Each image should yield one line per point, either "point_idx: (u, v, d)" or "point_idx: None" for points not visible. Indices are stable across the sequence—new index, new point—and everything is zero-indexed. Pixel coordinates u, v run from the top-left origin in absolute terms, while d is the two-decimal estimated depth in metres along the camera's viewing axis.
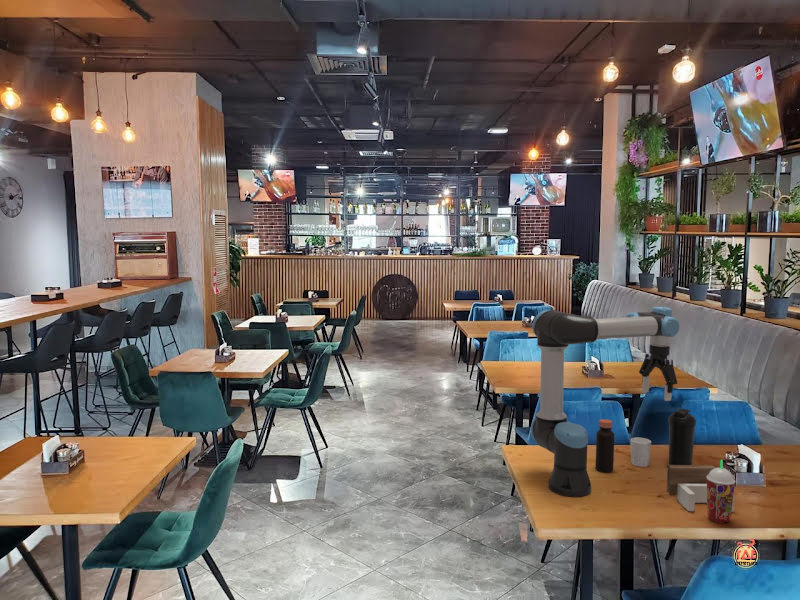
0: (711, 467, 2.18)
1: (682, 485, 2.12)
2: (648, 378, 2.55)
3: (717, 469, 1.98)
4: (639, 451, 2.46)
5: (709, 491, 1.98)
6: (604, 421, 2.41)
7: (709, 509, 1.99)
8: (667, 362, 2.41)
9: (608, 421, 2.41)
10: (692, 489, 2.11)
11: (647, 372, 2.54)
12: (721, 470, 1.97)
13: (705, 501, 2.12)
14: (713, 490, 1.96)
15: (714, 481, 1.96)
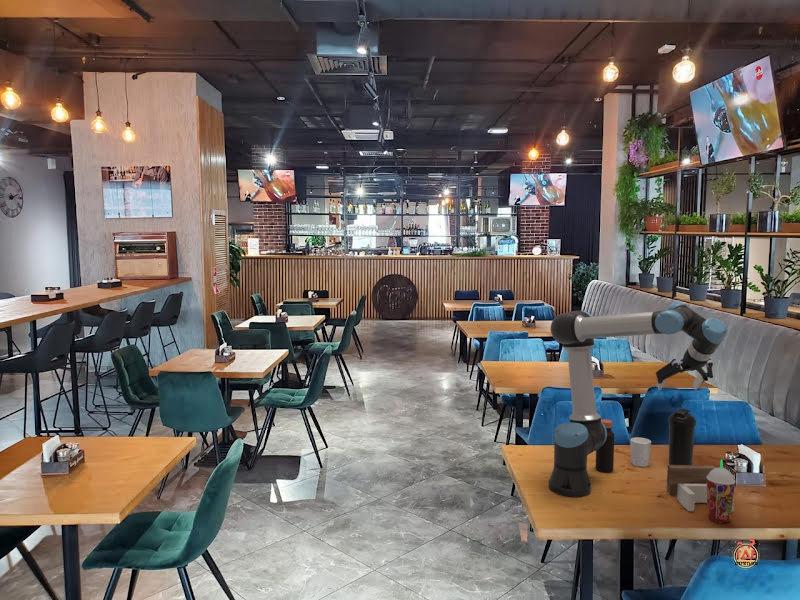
0: (711, 467, 2.18)
1: (682, 485, 2.12)
2: (700, 379, 2.21)
3: (717, 469, 1.98)
4: (639, 451, 2.46)
5: (709, 491, 1.98)
6: (604, 421, 2.41)
7: (709, 509, 1.99)
8: None
9: (608, 421, 2.41)
10: (692, 489, 2.11)
11: None
12: (721, 470, 1.97)
13: (705, 501, 2.12)
14: (713, 490, 1.96)
15: (714, 481, 1.96)
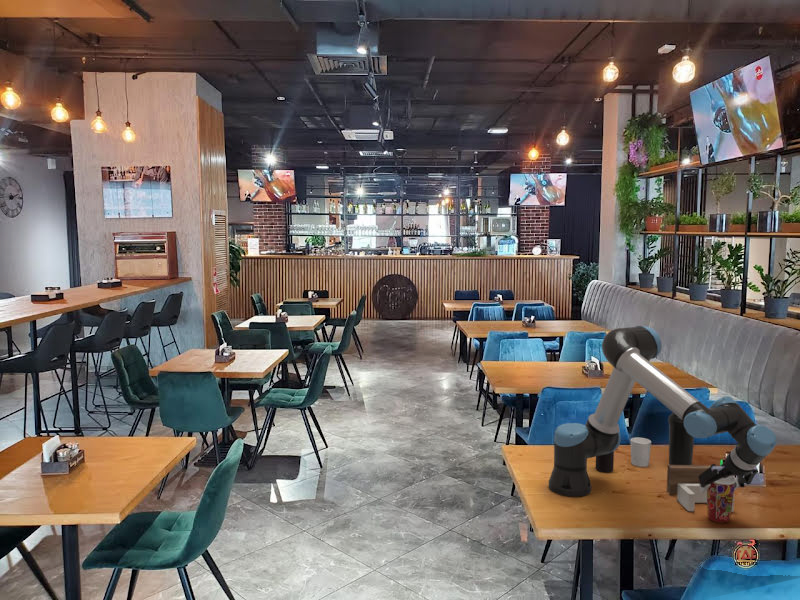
0: None
1: (682, 485, 2.12)
2: (735, 484, 1.97)
3: None
4: (639, 451, 2.46)
5: (709, 491, 1.98)
6: None
7: (709, 509, 1.99)
8: None
9: None
10: (692, 489, 2.11)
11: (737, 477, 1.95)
12: None
13: (705, 501, 2.12)
14: (713, 490, 1.96)
15: None
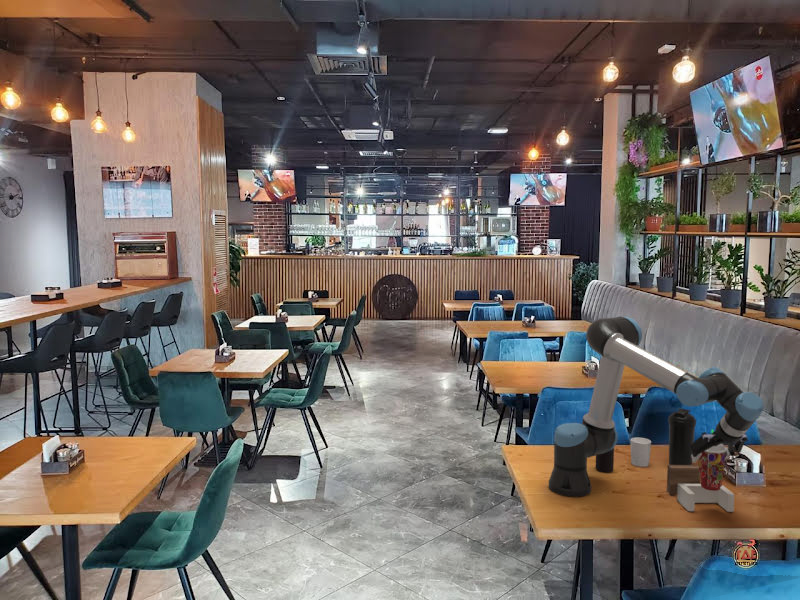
0: None
1: (682, 485, 2.12)
2: (726, 453, 2.03)
3: None
4: (639, 451, 2.46)
5: (701, 460, 2.04)
6: None
7: (701, 478, 2.05)
8: None
9: None
10: (692, 489, 2.11)
11: (728, 446, 2.02)
12: None
13: (705, 501, 2.12)
14: (705, 459, 2.03)
15: (705, 450, 2.02)
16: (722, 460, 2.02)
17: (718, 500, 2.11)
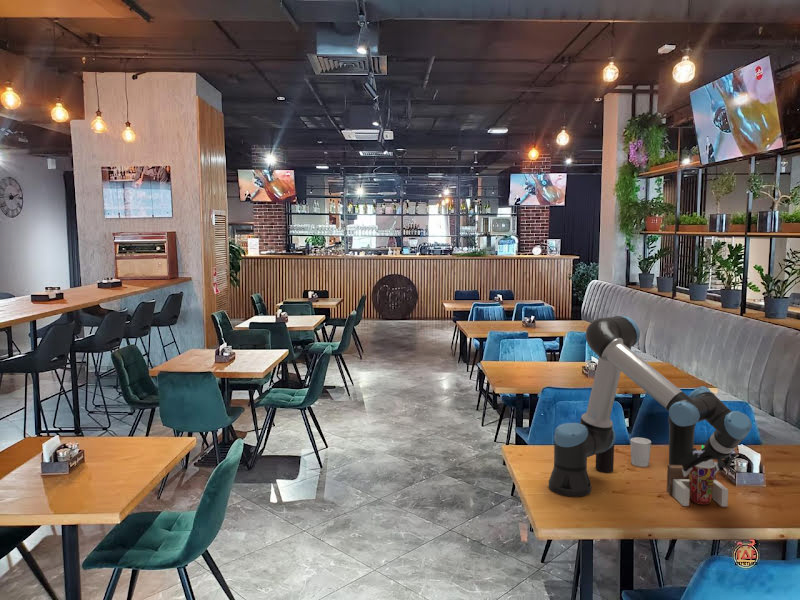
0: None
1: (677, 480, 2.16)
2: (715, 468, 2.10)
3: None
4: (639, 451, 2.46)
5: (691, 474, 2.11)
6: None
7: (691, 491, 2.12)
8: None
9: None
10: (687, 484, 2.15)
11: (717, 461, 2.08)
12: None
13: None
14: (695, 474, 2.09)
15: None
16: (711, 475, 2.08)
17: (712, 495, 2.15)
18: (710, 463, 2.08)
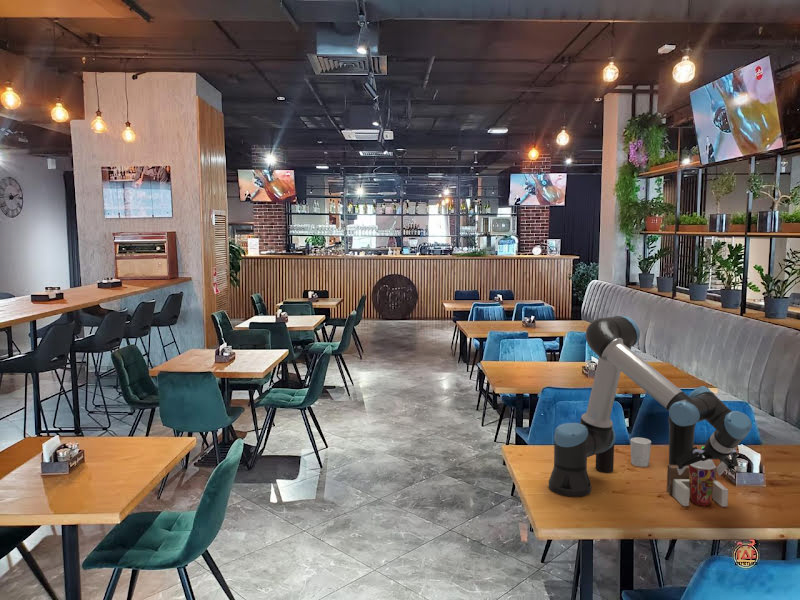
0: None
1: (677, 480, 2.16)
2: (724, 466, 2.09)
3: None
4: (639, 451, 2.46)
5: (691, 476, 2.11)
6: None
7: (691, 493, 2.12)
8: None
9: None
10: (687, 484, 2.15)
11: None
12: None
13: None
14: (695, 475, 2.09)
15: (695, 466, 2.09)
16: (712, 476, 2.08)
17: (712, 495, 2.15)
18: (710, 464, 2.08)
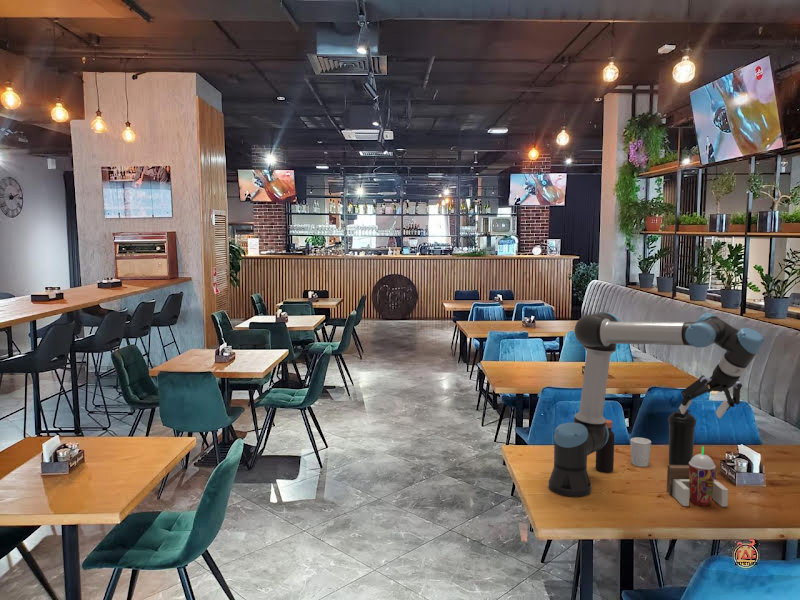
0: None
1: (677, 480, 2.16)
2: (725, 405, 2.09)
3: (699, 455, 2.11)
4: (639, 451, 2.46)
5: (691, 476, 2.11)
6: None
7: (691, 493, 2.12)
8: None
9: (608, 421, 2.41)
10: (687, 484, 2.15)
11: (726, 397, 2.08)
12: (702, 456, 2.10)
13: None
14: (695, 475, 2.09)
15: (696, 466, 2.09)
16: (712, 476, 2.08)
17: (712, 495, 2.15)
18: (710, 464, 2.08)
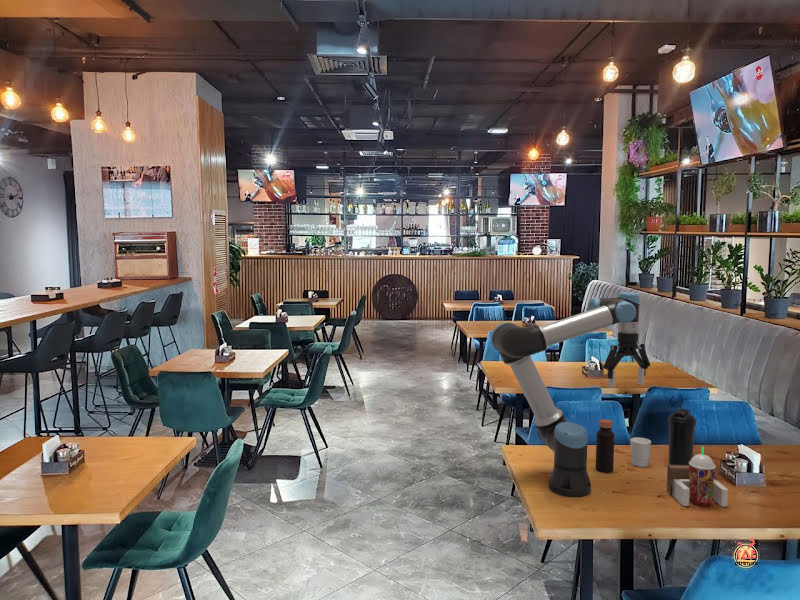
0: None
1: (677, 480, 2.16)
2: (641, 370, 2.39)
3: (699, 455, 2.11)
4: (639, 451, 2.46)
5: (691, 476, 2.11)
6: (604, 421, 2.41)
7: (691, 493, 2.12)
8: None
9: (608, 421, 2.41)
10: (687, 484, 2.15)
11: (638, 363, 2.40)
12: (702, 456, 2.10)
13: None
14: (695, 475, 2.09)
15: (696, 466, 2.09)
16: (712, 476, 2.08)
17: (712, 495, 2.15)
18: (710, 464, 2.08)
